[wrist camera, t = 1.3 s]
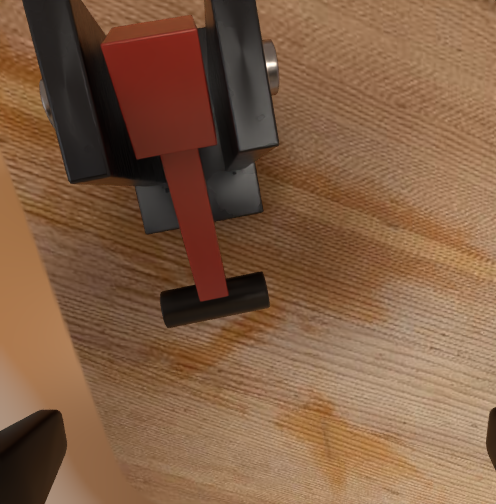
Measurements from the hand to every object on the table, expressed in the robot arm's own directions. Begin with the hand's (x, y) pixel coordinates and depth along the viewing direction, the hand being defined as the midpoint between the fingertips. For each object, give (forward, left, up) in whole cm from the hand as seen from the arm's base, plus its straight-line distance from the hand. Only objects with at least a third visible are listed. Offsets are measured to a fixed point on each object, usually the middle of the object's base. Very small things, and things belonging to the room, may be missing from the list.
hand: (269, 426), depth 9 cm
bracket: (-1, +8, -14) cm, 16 cm away
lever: (-1, +5, -7) cm, 8 cm away
